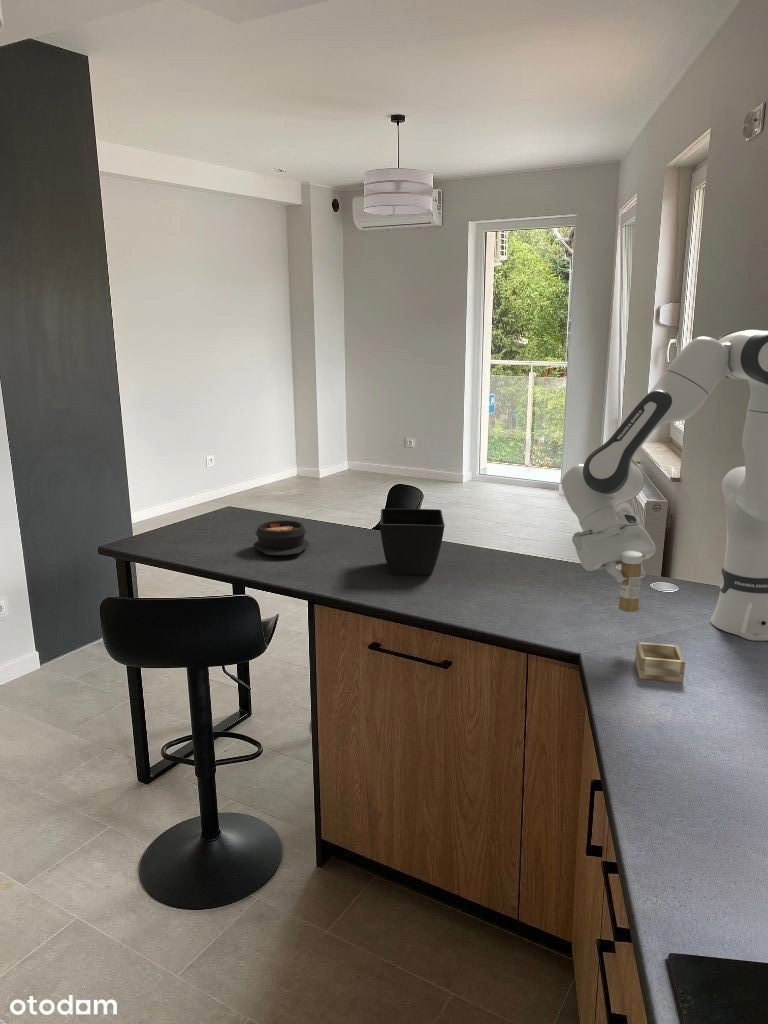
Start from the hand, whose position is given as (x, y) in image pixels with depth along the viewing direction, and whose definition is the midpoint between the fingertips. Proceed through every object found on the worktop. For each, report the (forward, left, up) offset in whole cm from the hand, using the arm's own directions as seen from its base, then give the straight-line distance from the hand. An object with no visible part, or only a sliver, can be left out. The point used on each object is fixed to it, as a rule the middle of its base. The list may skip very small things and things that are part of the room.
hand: (632, 579), depth 164 cm
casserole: (+105, -57, -17) cm, 121 cm away
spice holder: (-5, +12, -16) cm, 21 cm away
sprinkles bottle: (0, 0, -8) cm, 8 cm away
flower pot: (+59, -46, -17) cm, 77 cm away
